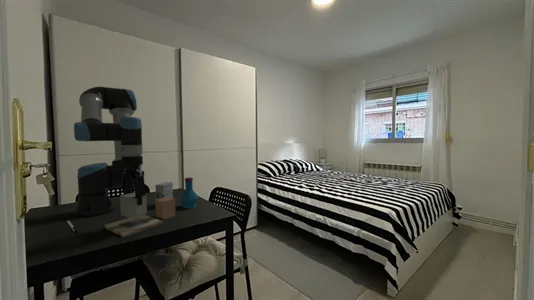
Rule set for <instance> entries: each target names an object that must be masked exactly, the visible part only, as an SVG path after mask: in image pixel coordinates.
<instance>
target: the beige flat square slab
mask: <svg viewBox="0 0 534 300" xmlns="http://www.w3.org/2000/svg"><path fill="white" fill-rule="evenodd" d="M163 224H164V221H163V220H162V219H158V218H155V217H152V216H150V215H147V214H142V215H139V216H135V217H131V218H128V217H127V218H125V219H121V220H118V221H114V222H111V223H107V224H104V225H103V228H105V229H107V230H108V231H110V232H111V233H114V234H115V235H118V236H120V237H122V238H124V237H125V238H126V237H128V236H131V235H133V234H137V233H140V232H143V231H146V230H149V229H152V228H156V227H159V226H161V225H163Z"/></svg>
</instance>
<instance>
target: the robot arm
mask: <svg viewBox="0 0 534 300" xmlns="http://www.w3.org/2000/svg"><path fill="white" fill-rule="evenodd" d="M78 102H79V106H80V107H81V111H80V112H81V113H80V116H81V117H80V121H79V122H78V121H77V122H75V123H74V124H73V132H74V133H73V135H74V139H75V140H76V141H77V142H113V144H114V159H113V160H112V161H111V164H110V165H108V163H107V162H99V163H96V162H95V163H91V164H86V165H83V166H80V167H79V168H78V169H77V176H76V178H77V186H78V189H77V190H78V194H77V195H78V199H77V201H76V204H75V207H74V211H73V212H74V216H77V217H89V216H91V217H92V216H97V215H102V214H106V213H108V212H111V211H112V210H114V205H113V204H114V203H113V202H112V200H111V197H110V195H109V190H110V189H117V188H121V192H122V193H123V195H125V194H130V193H135V197H134V202H135V214H138V213H142V212H143V207H142V197H143V196H145V195H146V196H147V194H146V184H145V171H144V170H142V166H143V163H144V162H143V161H144V159H143V156H142V155H143V137H142V135H143V131H142V130H143V129H142V127H143V125H142V119H141V117H135V116H133V115H134V113H135V112H136V111H137V108H138V105H137V104H138V103H137V97H136V94H135V93H134V91H133V90H132V89H126V88H119V87H118V88H117V87H107V86H93V87H90V88H87V89H86V90H85V91H83V92H82V93H81V94H80V96H79V99H78ZM102 110H108V113H109V114H110V115H111V116H112V122H103V114H102V113H103V112H102ZM132 190H133V191H132Z"/></svg>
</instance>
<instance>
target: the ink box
mask: <svg viewBox="0 0 534 300" xmlns="http://www.w3.org/2000/svg"><path fill="white" fill-rule="evenodd" d="M173 188H174V186H173V181H164V182H160V183H157V184H155V200H156V199H161V198H165V197H170V198H174V194H173V193H174V191H173Z"/></svg>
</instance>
